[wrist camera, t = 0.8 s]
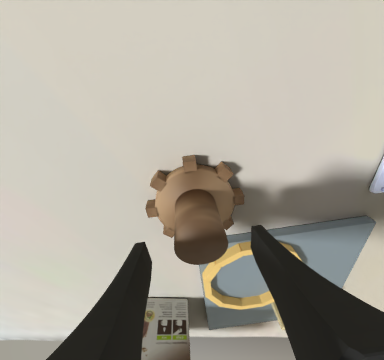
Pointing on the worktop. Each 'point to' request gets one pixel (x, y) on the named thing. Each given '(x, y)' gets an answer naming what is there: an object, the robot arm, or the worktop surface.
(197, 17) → the worktop surface
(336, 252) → the carrier plate
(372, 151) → the worktop surface
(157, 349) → the coffee box
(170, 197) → the planet gear
